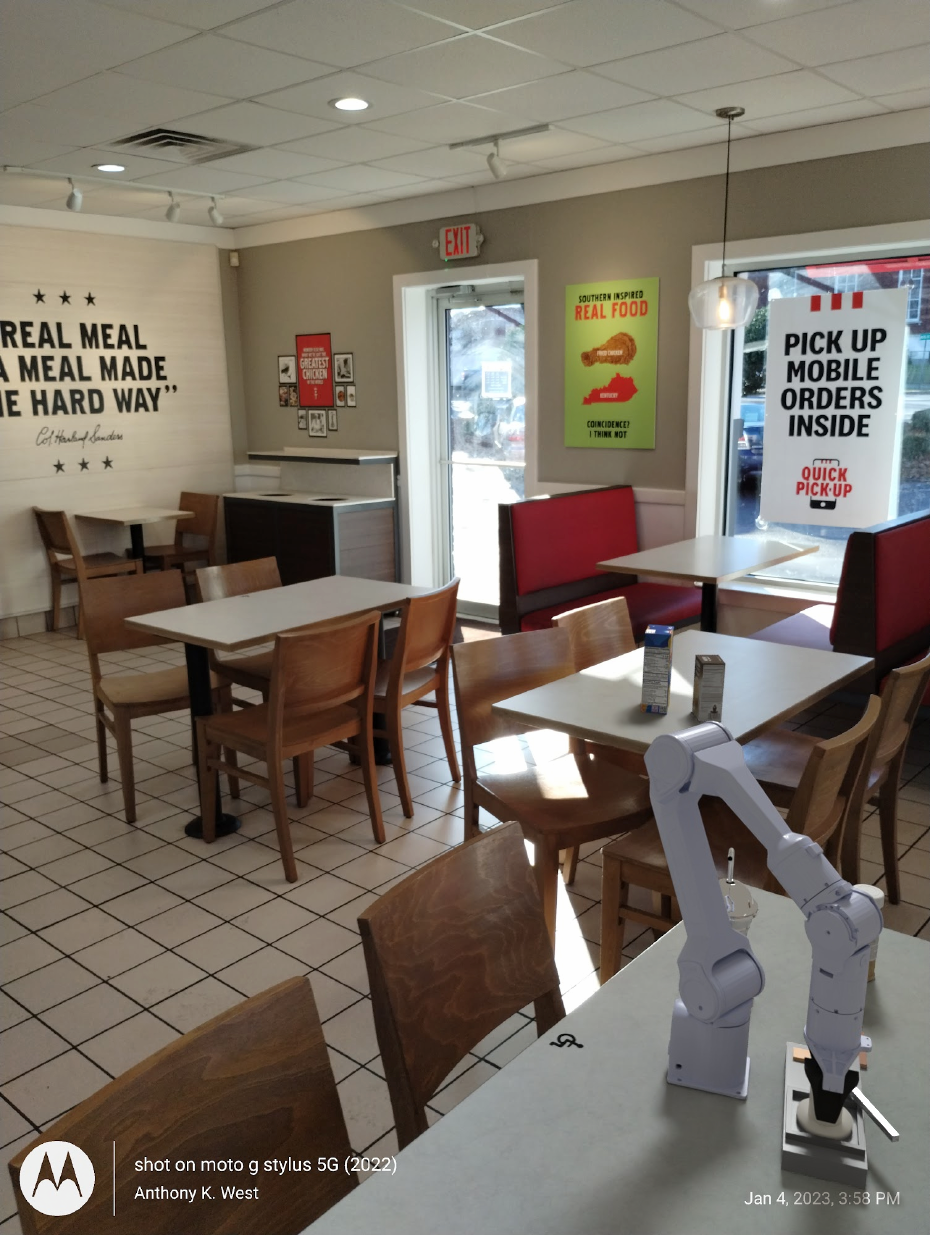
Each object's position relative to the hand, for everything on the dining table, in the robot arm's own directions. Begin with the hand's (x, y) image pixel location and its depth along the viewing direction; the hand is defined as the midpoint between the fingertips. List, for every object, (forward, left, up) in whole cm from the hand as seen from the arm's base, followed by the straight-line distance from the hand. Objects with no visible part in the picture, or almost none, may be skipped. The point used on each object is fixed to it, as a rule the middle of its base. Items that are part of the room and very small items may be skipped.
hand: (825, 1107), depth 113 cm
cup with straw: (-14, +33, -5) cm, 36 cm away
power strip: (0, +4, -4) cm, 6 cm away
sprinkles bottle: (+5, +38, -5) cm, 39 cm away
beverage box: (-42, +160, -5) cm, 165 cm away
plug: (0, 0, -2) cm, 2 cm away
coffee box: (-28, +157, -5) cm, 159 cm away
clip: (+3, +4, -2) cm, 6 cm away
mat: (+2, +19, -4) cm, 20 cm away
